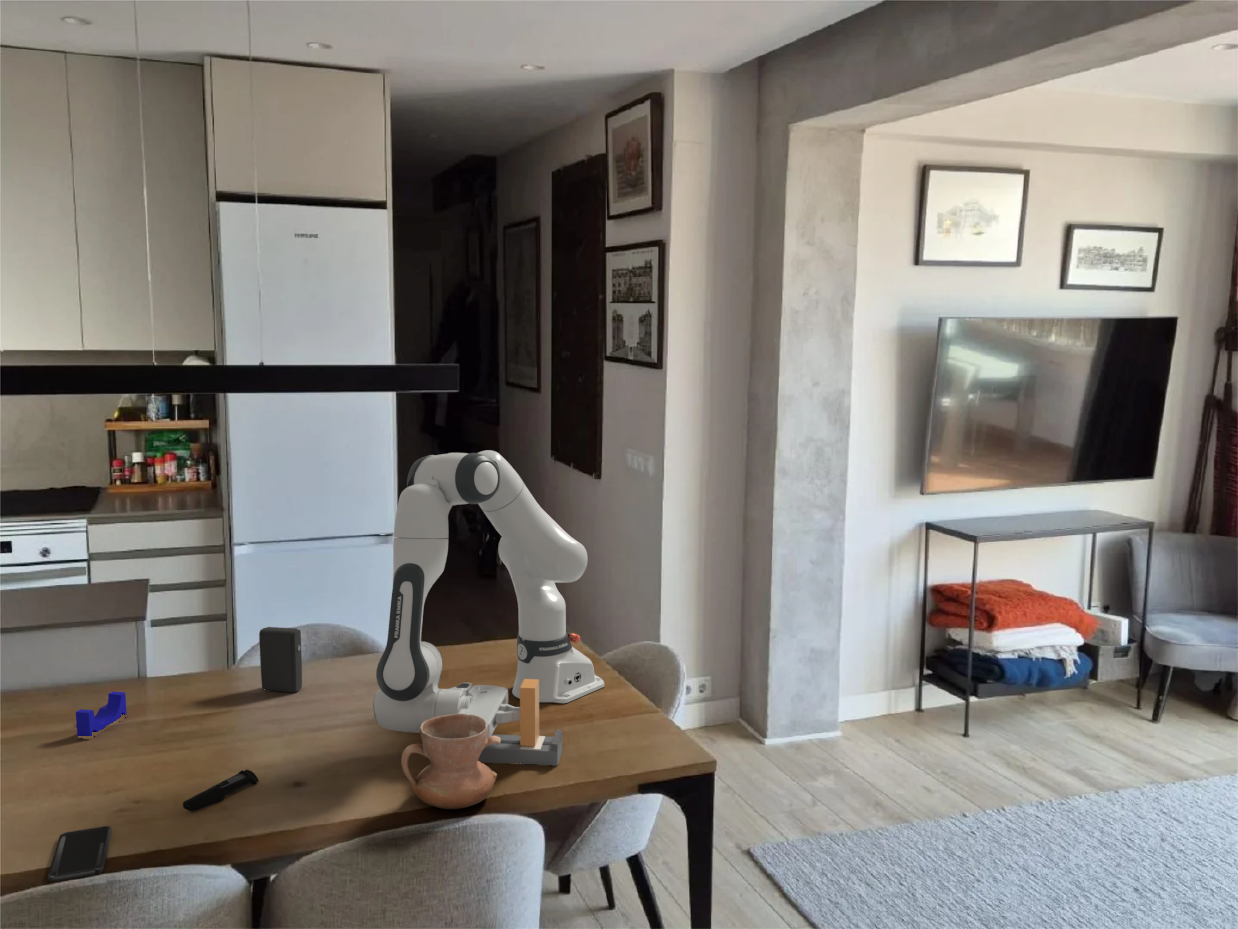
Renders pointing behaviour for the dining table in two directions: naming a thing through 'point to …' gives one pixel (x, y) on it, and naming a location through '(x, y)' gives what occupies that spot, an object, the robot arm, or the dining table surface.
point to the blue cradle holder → (101, 715)
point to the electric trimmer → (220, 791)
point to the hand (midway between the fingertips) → (522, 714)
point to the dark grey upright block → (280, 659)
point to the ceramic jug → (452, 762)
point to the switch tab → (529, 712)
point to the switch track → (524, 750)
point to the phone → (80, 853)
